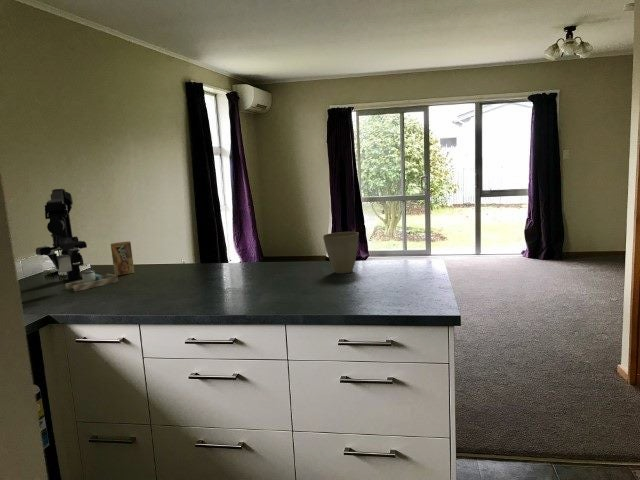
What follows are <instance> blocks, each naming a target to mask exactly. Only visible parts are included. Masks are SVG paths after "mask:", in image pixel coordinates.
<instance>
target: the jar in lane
mask: <svg viewBox="0 0 640 480" xmlns="http://www.w3.org/2000/svg"><path fill="white" fill-rule="evenodd" d="M95 274H96V273H95V270H94V269H93V270H89V269H88V270H84V271H81V276H82V278H81V279H82V280H83V284H84V283H89V282H93V281H96V277H95Z"/></svg>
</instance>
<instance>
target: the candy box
mask: <svg viewBox="0 0 640 480" xmlns="http://www.w3.org/2000/svg"><path fill="white" fill-rule="evenodd" d="M110 250H111V258H112V265H113V272H114V275H117V276H120V275H121V276H122V275H127V274H128V275H129V274H135V266H134V258H133V251H132V243H131V241H130V240H127V241H118V242H111V243H110Z"/></svg>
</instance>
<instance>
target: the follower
mask: <svg viewBox="0 0 640 480" xmlns="http://www.w3.org/2000/svg"><path fill="white" fill-rule="evenodd" d="M102 276H103V275H102V274H97V273H95V277H96V281H98V280H102Z"/></svg>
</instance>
